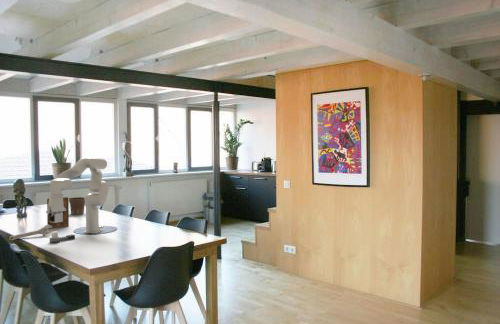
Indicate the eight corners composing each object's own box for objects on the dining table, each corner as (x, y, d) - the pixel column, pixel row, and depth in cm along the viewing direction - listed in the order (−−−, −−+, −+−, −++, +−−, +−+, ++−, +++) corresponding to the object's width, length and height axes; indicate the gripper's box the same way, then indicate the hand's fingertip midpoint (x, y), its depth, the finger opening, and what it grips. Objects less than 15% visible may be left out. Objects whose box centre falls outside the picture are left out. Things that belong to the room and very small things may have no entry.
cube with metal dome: (57, 220, 309) (57, 210, 309) (62, 221, 306) (62, 211, 306) (50, 221, 304) (50, 211, 304) (55, 222, 301) (55, 212, 301)
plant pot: (83, 212, 437) (82, 196, 436) (88, 214, 424) (88, 198, 424) (66, 213, 426) (66, 197, 426) (71, 215, 414) (71, 199, 413)
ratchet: (70, 237, 320) (70, 228, 320) (76, 238, 317) (76, 229, 316) (47, 242, 305) (47, 232, 305) (53, 243, 301) (53, 233, 301)
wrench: (10, 243, 313) (52, 233, 332) (10, 244, 311) (53, 234, 330) (8, 233, 312) (51, 223, 331) (9, 233, 310) (51, 224, 329)
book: (67, 225, 367) (67, 197, 366) (69, 226, 363) (69, 197, 362) (47, 227, 357) (47, 198, 355) (49, 228, 352) (48, 199, 351)
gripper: (63, 194, 314) (63, 218, 315) (41, 197, 299) (42, 222, 300) (69, 195, 310) (70, 219, 311) (48, 198, 295) (48, 223, 296)
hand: (56, 220), depth 305 cm, fingers closed on cube with metal dome, 6 cm apart
